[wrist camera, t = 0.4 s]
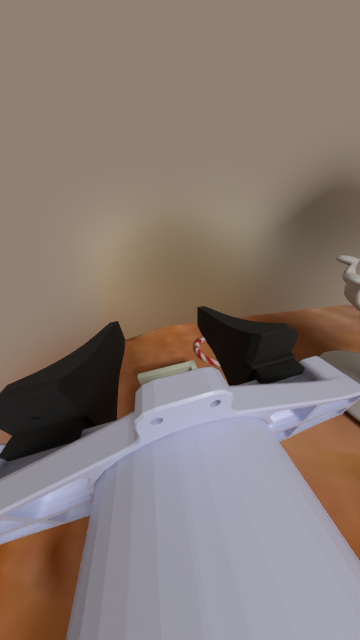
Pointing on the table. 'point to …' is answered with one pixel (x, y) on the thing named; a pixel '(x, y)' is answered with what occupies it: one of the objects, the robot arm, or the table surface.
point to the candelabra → (345, 361)
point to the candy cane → (202, 356)
